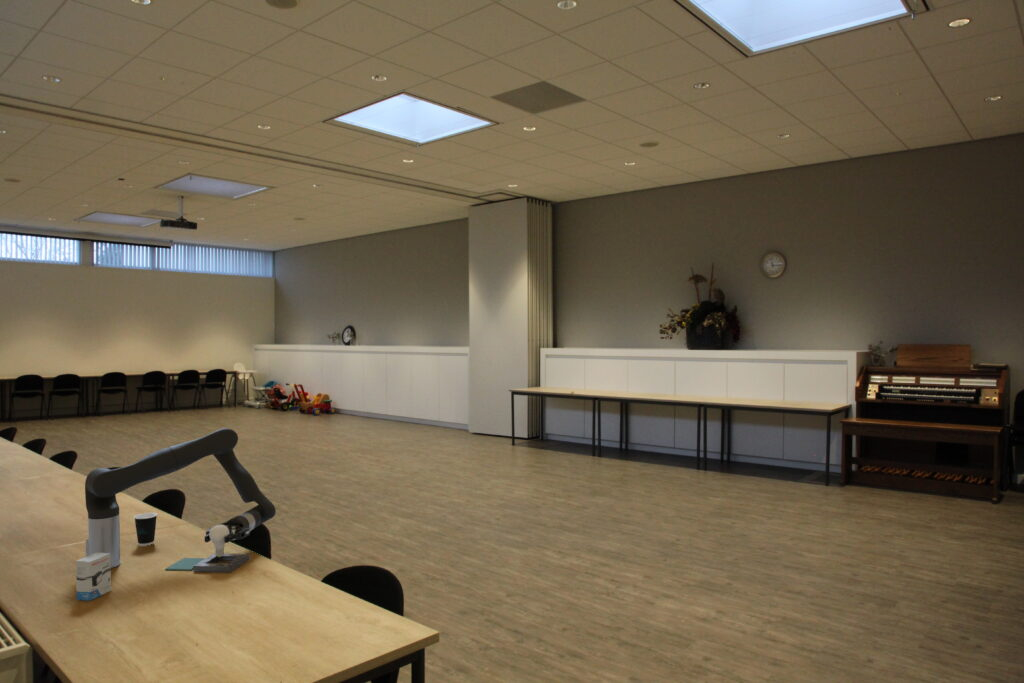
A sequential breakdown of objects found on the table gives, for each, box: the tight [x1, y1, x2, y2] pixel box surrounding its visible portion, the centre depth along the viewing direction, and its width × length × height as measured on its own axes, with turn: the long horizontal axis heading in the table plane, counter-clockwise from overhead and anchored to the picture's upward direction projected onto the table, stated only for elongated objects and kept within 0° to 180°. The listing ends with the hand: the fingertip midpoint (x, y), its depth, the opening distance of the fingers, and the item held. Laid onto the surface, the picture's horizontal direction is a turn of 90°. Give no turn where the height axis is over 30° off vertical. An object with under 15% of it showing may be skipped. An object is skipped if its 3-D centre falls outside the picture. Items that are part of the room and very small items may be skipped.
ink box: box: [75, 553, 112, 602], centre depth 208 cm, size 8×5×12 cm, turn 168°
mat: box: [165, 557, 207, 572], centre depth 234 cm, size 9×11×1 cm
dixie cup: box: [133, 512, 158, 547], centre depth 258 cm, size 8×8×11 cm
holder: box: [192, 552, 250, 574], centre depth 233 cm, size 13×13×2 cm
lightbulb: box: [209, 523, 229, 557], centre depth 233 cm, size 6×6×11 cm
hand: (215, 539), depth 231 cm, fingers closed on lightbulb, 6 cm apart
